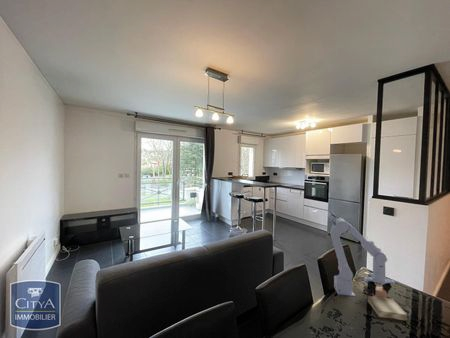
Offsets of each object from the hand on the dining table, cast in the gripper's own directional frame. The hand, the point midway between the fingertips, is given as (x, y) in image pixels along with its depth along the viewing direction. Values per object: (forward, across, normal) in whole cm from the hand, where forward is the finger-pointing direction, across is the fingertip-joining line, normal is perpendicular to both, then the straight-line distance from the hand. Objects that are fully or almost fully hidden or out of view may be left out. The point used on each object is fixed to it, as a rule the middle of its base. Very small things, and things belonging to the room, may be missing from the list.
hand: (379, 294), depth 114 cm
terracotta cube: (+1, 0, 0) cm, 1 cm away
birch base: (+1, -2, -11) cm, 11 cm away
